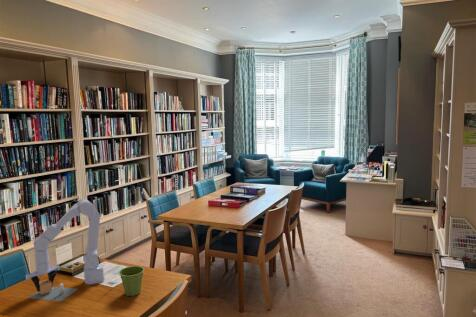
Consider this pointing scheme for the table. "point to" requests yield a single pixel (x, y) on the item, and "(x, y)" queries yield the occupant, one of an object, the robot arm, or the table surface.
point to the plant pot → (132, 279)
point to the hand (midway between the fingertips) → (44, 288)
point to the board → (54, 293)
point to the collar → (45, 286)
